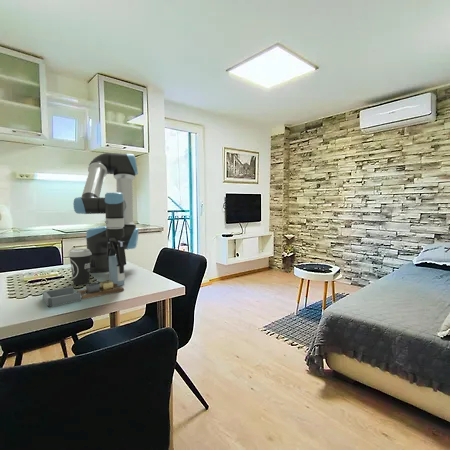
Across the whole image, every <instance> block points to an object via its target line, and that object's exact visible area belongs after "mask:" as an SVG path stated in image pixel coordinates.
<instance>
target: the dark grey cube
mask: <svg viewBox="0 0 450 450" xmlns="http://www.w3.org/2000/svg"><path fill="white" fill-rule="evenodd" d="M99 287H100V283H98V282H89V283H87V284H85V289H86V293H85V294H90V293H95V292H100V288H99Z"/></svg>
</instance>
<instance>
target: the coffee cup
mask: <svg viewBox="0 0 450 450" xmlns="http://www.w3.org/2000/svg"><path fill="white" fill-rule="evenodd" d="M91 255H92V253H91V252H90V250H89V249H87V248H79V249H72V250H70V251H69V253H68V257H69V262H70V270H71V275H72V276H71V277H72V282H73V285H74V286H75V285H76V286H80V285H81V286H82V285H86V284H90V279H91V278H90V273H91V272H90V259H91Z"/></svg>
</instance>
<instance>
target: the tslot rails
mask: <svg viewBox="0 0 450 450" xmlns="http://www.w3.org/2000/svg"><path fill="white" fill-rule="evenodd" d="M99 288H100V286H99ZM124 290H125V289H124V287H123V286H121V287H118V286H117V284H113V289H110V290H105V291H100V292H95V293H90V294H86V288H84V289H78V290H76V293H78V292H80V294H81V299H82V300H85V299H90V298H95V297H96V298H97V297H100V296H104V295H110V294H114V293H119V292H124Z"/></svg>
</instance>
